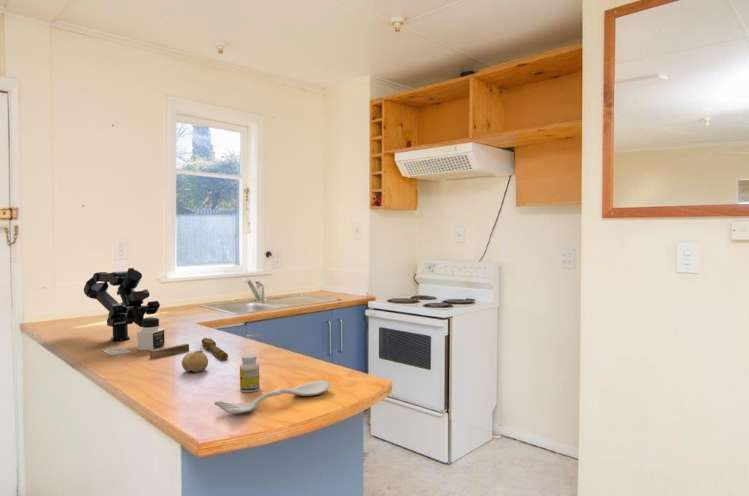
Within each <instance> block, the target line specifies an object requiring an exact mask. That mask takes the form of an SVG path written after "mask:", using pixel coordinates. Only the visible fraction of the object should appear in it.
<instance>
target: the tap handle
mask: <svg viewBox="0 0 749 496" xmlns="http://www.w3.org/2000/svg"><path fill="white" fill-rule="evenodd" d="M216 343H217V342H216V341H215V340H214V339H212V338H207V337H203V338H202V340H201V344H202V347H203V348H204V349H205V350H207V351H211V352H213V354H214V355H215V356H216V357H217V358H218V359H220V361H223V362H224V361H227V360H228V358H229V355H228V353H227V352H225V351H224V350H223V349H221V348H219V347H218V346H217V344H216Z"/></svg>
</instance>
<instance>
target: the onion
mask: <svg viewBox="0 0 749 496" xmlns="http://www.w3.org/2000/svg"><path fill="white" fill-rule="evenodd" d="M181 365H182V368H183V370H184V371H186V372H187V373H189V374H190V373H191V372H193V373H200V372H202V371H204V370H206V369H207V367H208V365H209V358H208V357H207V356H206V354H205V353H204V351H203V350H202V348H200V349H199V350H195V351H194V350H193V351H189V352H188V353H187V354H185V355H184V356H183V358H182V360H181Z"/></svg>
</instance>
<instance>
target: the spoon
mask: <svg viewBox="0 0 749 496" xmlns="http://www.w3.org/2000/svg"><path fill="white" fill-rule="evenodd" d="M330 387H331V384H330V382H329V381H327V380H315V381H310V382H307V383H304V384H301V385H298V386H295V387H293V388H290V389H287V388H286V389H284V388H283V389H279V390H278V389H276V390H275V389H274V390H273V391H270V392H266V393H264V394H262V395H260V396H258V397H257V398H255V399H254V400H252V401H251V402H246V403H245V402H225V401H219V400H218V401H214V405H215V406H217V407H218V408H220V409H221V410H223V411H225V412H226V413H228V414H231V415H239V414H245V413H249V412H251V411H252V410H253V409H255V408H256V406H257V405H258V404H259V403H261V402H262V401H264V400H265V399H268V398H270V397H276V396H280V395H284V394H290V395H296V396H301V397H312V396H317V395H320V394H323V393H324V392H326V391H328V389H330Z"/></svg>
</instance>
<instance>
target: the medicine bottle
mask: <svg viewBox="0 0 749 496" xmlns="http://www.w3.org/2000/svg"><path fill="white" fill-rule="evenodd" d="M141 329H142V330H138V331H137V332H136V341H137V342H136V343H137V344H136V346H137V347H136V350H137V351H147V352H148V351H149V352H150V351H151V350H156V349H161V348H165V346H166V345H165V329H164V328H160V318H159V317H154V316H152V317H151V316H150V317H144V319H143V320H142V327H141Z"/></svg>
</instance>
